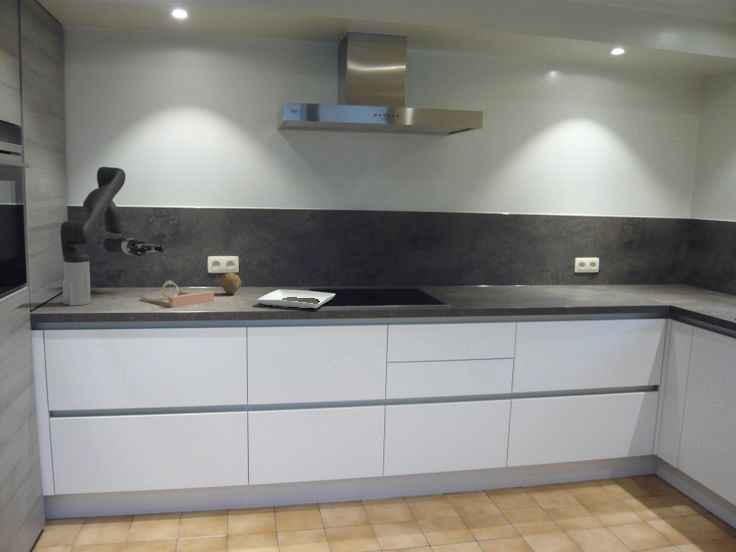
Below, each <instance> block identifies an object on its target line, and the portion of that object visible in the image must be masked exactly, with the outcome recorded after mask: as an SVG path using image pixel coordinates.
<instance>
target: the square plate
mask: <svg viewBox="0 0 736 552" xmlns="http://www.w3.org/2000/svg"><path fill="white" fill-rule="evenodd" d="M335 296H336V293H331V292H323V291H322V292H320V291H311V290H302V289H301V290H298V289H282V288H281V289H277V290H274V291H272V292H269V293H266V294H264V295H263V296H260V297H259V298H256V300H257V301H258V302H259V303H261V304H263V305H266V306H270V305H274V306H273V307H275V306H291V307H306V308H314V309H317V308H319V307H321V306H322V305H324V304H325V303H327V302H329V301H331V300H332V299H333V298H334V297H335ZM287 297H297V298H315V299H318V300H319V301H320V302H319V303H318V304H313V303H306V302H298V301H287V300H282V299H283V298H287Z"/></svg>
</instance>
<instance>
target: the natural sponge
mask: <svg viewBox="0 0 736 552" xmlns="http://www.w3.org/2000/svg"><path fill="white" fill-rule="evenodd" d="M220 284H221V287H222V290H223V291H224V292H225V293H226V294H227V295H229V296H230V295H233V294H235V293H236V292H237V291H238V290H239V289H240V288H241V286H242V281H241V277H240V276H238V275H237V274H236V273H234V272H227V273H225V274H224V275H223V276H222V277H221V278H220Z"/></svg>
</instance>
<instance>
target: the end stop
mask: <svg viewBox="0 0 736 552" xmlns="http://www.w3.org/2000/svg"><path fill="white" fill-rule="evenodd" d="M192 293H193V294H186V295H179V294H178V295H177V296H175V295H173V296H171V297H170V296H168V297H169V298H168V302H169V308H171V309H172V308H174V309H175V308H179V307H183V306H191V305H196V304H203V303H209V302H214V301H215V300H214V299H215V297H214V294H215V293H214V291H211V290H209V291H208V290H207V291H201V292H192Z"/></svg>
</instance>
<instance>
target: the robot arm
mask: <svg viewBox="0 0 736 552" xmlns="http://www.w3.org/2000/svg"><path fill="white" fill-rule="evenodd" d="M96 182H97V187H96V188H95V189H93V190H92V191H90V192H89V193H88V195H87V196H86V197H85V199H84V201H83V202H82V210H83V212H84V214H85V216H86V219H84V220H82V221H81V220H80V221H78V220H65V221H63V222H62V223H61V226H60V232H59V234H60V243H61V253H62V257H63V274H64V277H63V280H62V303H63V304H64V305H67V306H71V307H72V306H84V305H89V304H91V301H92V299H91V274H90V256H89V253H86V252H84V251H81V250H80V249H78V248H77V246H76V245H82V246H83V245H87V244H88V245H89V244H90V242H91V241H92V240H93V237H94V235H95V233H96V231H97V229H98V226H99V223H100V222H101V220H102V218H103V217H104V229H105V231H106V232H107V233H110V234H115V233H121V227H122V216H121V211H120V210H119V208H118V207H117V205H116V203H115V202H114V198H115V197H116V195H117V194H118V193H119V192H120V190H121V189H122V188H123V187H124V184H125V182H126V172H125V170H123V169H122V168H119V167H109V166H100V167H99V168H98V169H97V173H96ZM105 238H106V239H105ZM105 238H104V239H105V240H104V239H103V240H104V243H103V244H104V245H103V246H104V247H105V249H106V250H107V251H108V252H107V251H106V252H107V253H111V254H112V253H113V254H114V253H115V254H116V253H122V254H127V255H130V256H135V257H141V256H143V255H145V254H147V253H155V252H157V253H158V252H159V253H163V252H164V251H165V248H164V247H163V245H161V244H155V243H154V244H149V243H146V242H145V241H144V240H143V239H139V238H134V237H132V238H127V237H125V238H119V239H112V238H107V237H105Z"/></svg>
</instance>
